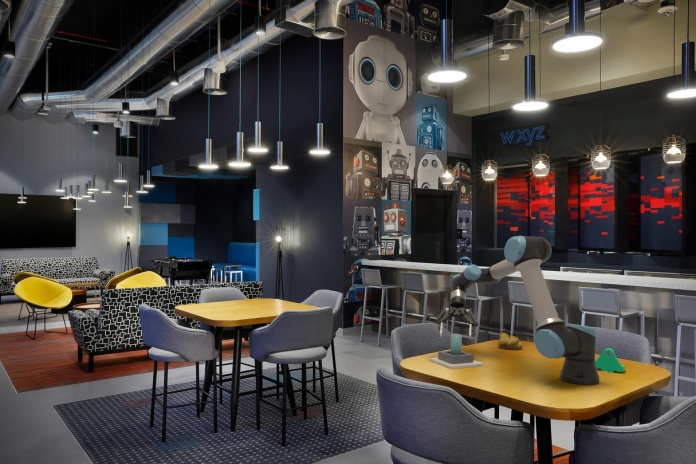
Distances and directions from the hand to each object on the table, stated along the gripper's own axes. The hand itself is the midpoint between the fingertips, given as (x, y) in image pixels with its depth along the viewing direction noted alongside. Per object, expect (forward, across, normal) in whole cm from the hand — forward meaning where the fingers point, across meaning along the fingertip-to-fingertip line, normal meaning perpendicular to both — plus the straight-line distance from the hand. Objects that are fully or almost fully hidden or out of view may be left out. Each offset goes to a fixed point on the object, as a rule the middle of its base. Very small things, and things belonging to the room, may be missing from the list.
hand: (455, 336), depth 258 cm
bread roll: (-23, -26, -40) cm, 53 cm away
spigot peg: (+10, 0, -6) cm, 11 cm away
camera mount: (+3, -68, -15) cm, 70 cm away
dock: (+11, 0, -6) cm, 13 cm away
